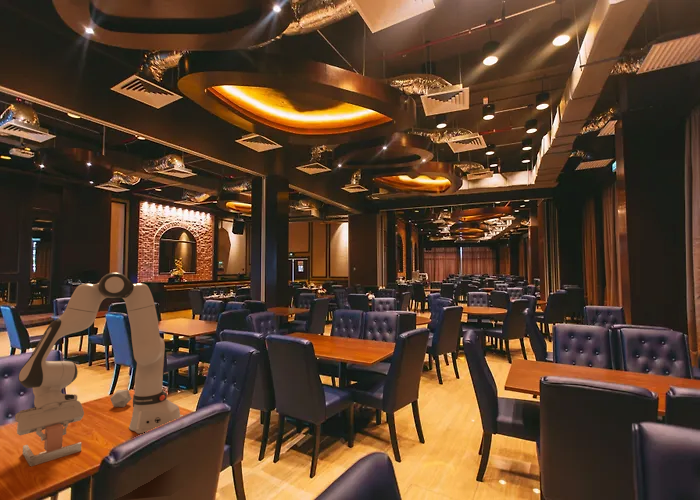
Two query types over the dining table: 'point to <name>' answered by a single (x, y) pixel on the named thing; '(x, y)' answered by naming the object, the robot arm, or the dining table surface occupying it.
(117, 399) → the grey faceted polyhedron
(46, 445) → the block
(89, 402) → the dining table surface
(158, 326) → the robot arm
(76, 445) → the corner wall
